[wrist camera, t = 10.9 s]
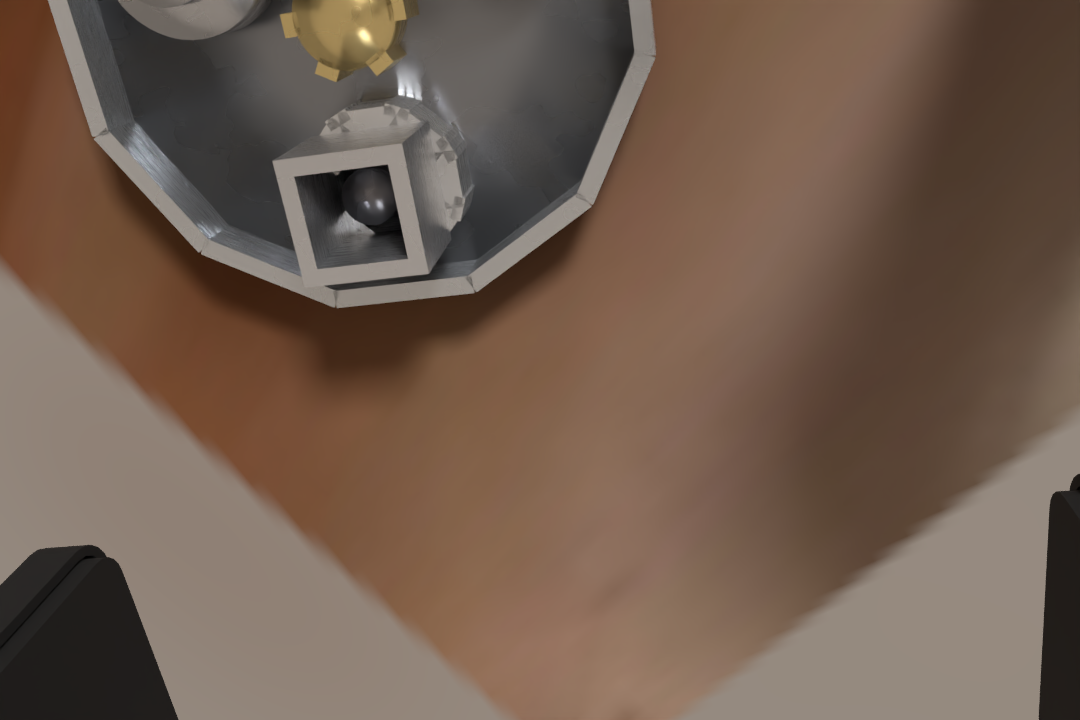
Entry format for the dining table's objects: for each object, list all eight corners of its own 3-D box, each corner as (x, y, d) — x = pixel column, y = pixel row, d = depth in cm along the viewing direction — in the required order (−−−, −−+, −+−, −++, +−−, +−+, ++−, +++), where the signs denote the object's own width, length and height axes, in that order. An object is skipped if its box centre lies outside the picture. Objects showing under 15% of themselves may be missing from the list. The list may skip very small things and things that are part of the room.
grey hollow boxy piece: (456, 85, 37) (421, 115, 31) (484, 241, 39) (456, 293, 34) (303, 107, 38) (243, 139, 32) (339, 258, 40) (289, 311, 35)
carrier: (612, -391, 31) (604, -440, 27) (678, 245, 39) (680, 286, 35) (15, -260, 35) (-78, -285, 30) (188, 301, 43) (134, 344, 39)
